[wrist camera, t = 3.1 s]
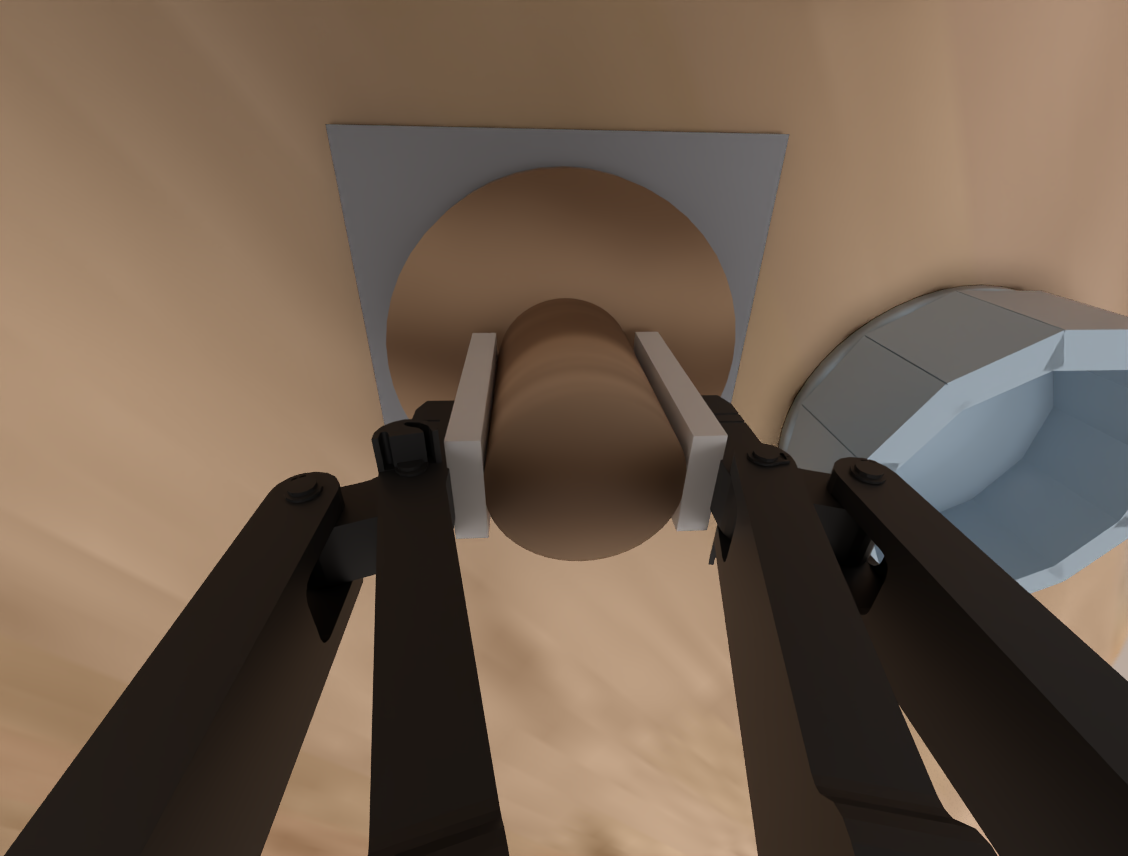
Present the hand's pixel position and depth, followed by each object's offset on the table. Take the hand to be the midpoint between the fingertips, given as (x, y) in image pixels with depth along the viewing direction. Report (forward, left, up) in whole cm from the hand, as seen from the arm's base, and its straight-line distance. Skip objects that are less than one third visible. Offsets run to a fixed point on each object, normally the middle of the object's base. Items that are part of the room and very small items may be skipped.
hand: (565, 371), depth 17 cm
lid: (0, 0, -2) cm, 2 cm away
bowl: (+4, +16, -2) cm, 17 cm away
